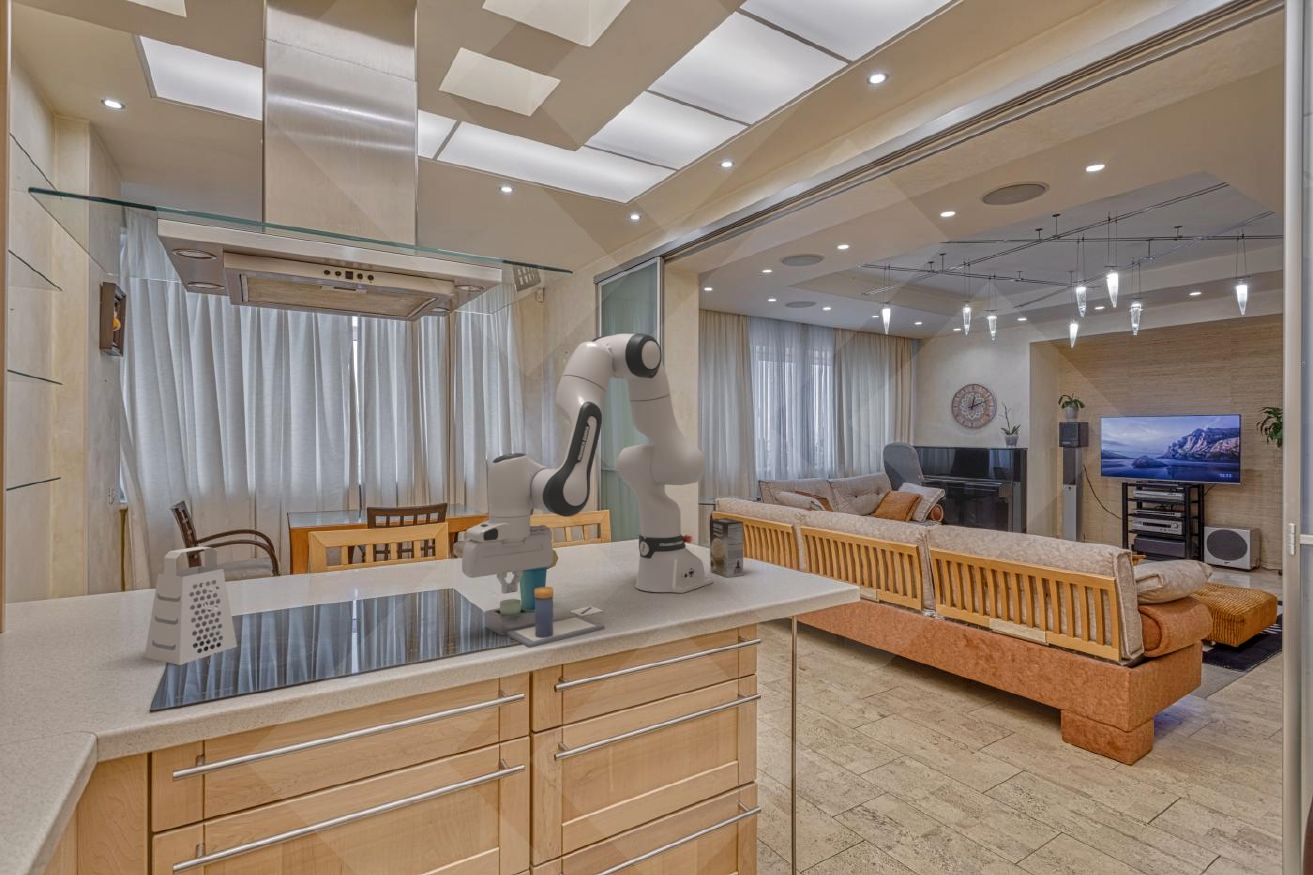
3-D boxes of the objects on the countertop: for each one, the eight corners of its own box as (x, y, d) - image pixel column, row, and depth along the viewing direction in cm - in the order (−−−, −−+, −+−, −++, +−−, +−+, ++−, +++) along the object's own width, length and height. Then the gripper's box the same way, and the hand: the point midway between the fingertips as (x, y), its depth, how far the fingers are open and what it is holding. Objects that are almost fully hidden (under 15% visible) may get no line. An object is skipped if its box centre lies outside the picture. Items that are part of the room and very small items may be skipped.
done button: (514, 615, 137) (514, 598, 137) (524, 620, 134) (524, 602, 134) (496, 619, 134) (496, 601, 134) (505, 624, 131) (505, 605, 131)
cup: (501, 614, 144) (501, 550, 144) (497, 605, 152) (497, 544, 151) (561, 607, 149) (560, 545, 149) (554, 599, 157) (554, 540, 157)
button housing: (518, 619, 140) (518, 604, 140) (535, 628, 134) (535, 611, 134) (485, 626, 135) (485, 610, 135) (501, 636, 129) (501, 619, 129)
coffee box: (708, 572, 187) (708, 519, 187) (726, 569, 191) (725, 517, 190) (727, 578, 179) (726, 522, 179) (744, 575, 183) (744, 521, 182)
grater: (237, 646, 123) (236, 546, 123) (179, 664, 113) (178, 556, 113) (202, 640, 127) (201, 543, 127) (144, 657, 117) (143, 552, 117)
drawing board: (578, 618, 141) (578, 615, 141) (604, 628, 133) (604, 625, 133) (506, 634, 129) (506, 631, 129) (529, 647, 122) (529, 643, 122)
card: (591, 607, 149) (591, 605, 149) (602, 611, 146) (602, 610, 146) (569, 612, 146) (569, 610, 146) (581, 616, 142) (581, 615, 142)
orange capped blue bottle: (547, 630, 130) (547, 586, 130) (557, 635, 127) (556, 589, 127) (531, 634, 127) (531, 589, 127) (540, 639, 124) (540, 592, 124)
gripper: (544, 522, 143) (544, 582, 143) (458, 531, 130) (458, 597, 130) (558, 525, 138) (558, 587, 138) (471, 534, 125) (471, 603, 125)
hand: (509, 592), depth 134 cm, fingers closed
